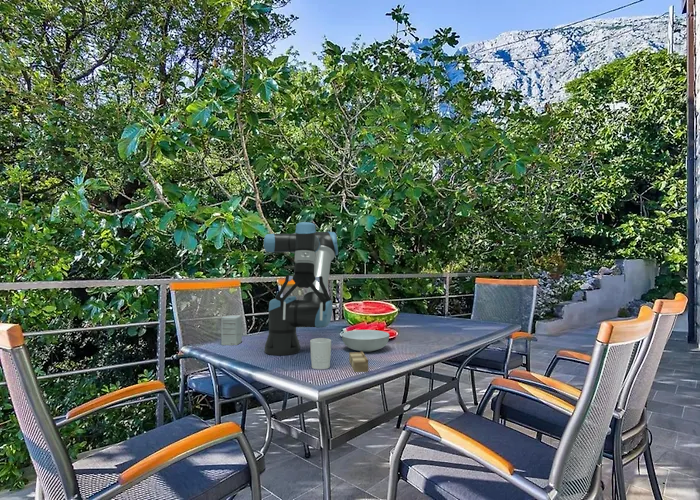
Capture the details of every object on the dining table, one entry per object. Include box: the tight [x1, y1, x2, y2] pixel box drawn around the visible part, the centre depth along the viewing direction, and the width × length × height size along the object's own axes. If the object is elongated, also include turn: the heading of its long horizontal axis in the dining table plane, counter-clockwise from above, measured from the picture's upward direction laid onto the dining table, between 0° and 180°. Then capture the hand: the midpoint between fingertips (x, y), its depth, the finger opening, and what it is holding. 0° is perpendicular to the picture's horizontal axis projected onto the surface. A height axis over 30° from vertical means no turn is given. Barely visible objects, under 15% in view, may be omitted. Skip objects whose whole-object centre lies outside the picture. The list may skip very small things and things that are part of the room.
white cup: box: [309, 337, 332, 370], centre depth 158 cm, size 8×8×10 cm
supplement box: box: [220, 315, 243, 346], centre depth 199 cm, size 7×7×13 cm
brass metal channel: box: [348, 351, 369, 373], centre depth 160 cm, size 15×5×4 cm, turn 7°
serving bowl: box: [341, 329, 390, 353], centre depth 188 cm, size 21×21×7 cm
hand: (302, 320), depth 158 cm, fingers open, 13 cm apart
